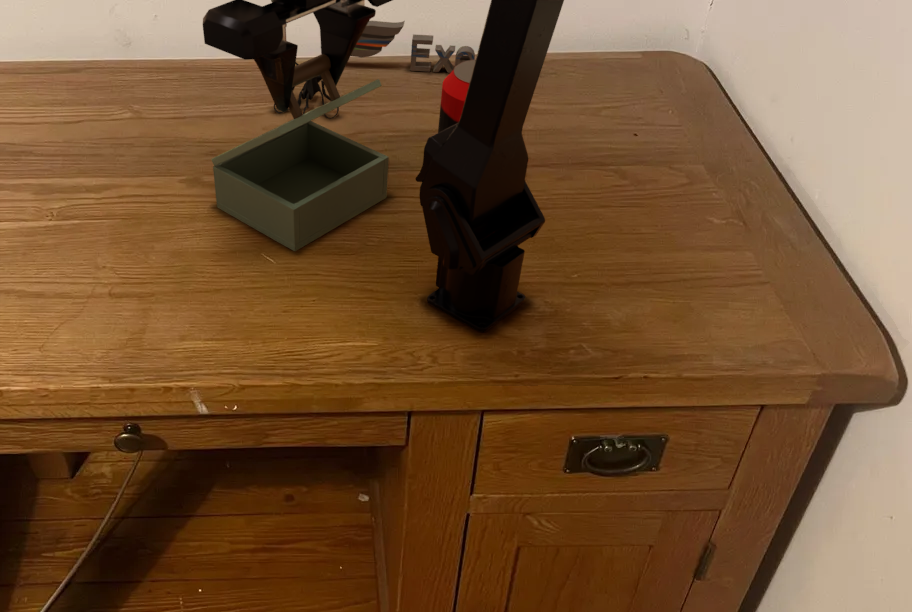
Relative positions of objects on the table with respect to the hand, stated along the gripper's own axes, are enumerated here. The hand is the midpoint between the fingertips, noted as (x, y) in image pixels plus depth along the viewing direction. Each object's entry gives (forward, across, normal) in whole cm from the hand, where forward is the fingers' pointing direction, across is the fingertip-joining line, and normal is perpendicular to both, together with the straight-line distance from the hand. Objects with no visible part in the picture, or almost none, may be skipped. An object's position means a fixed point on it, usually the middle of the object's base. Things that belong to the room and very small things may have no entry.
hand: (306, 98), depth 86 cm
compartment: (+12, 0, -1) cm, 12 cm away
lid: (+3, 0, -2) cm, 4 cm away
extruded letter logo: (+11, -33, -12) cm, 37 cm away
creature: (+11, -15, -15) cm, 24 cm away
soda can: (+12, -15, +9) cm, 21 cm away
